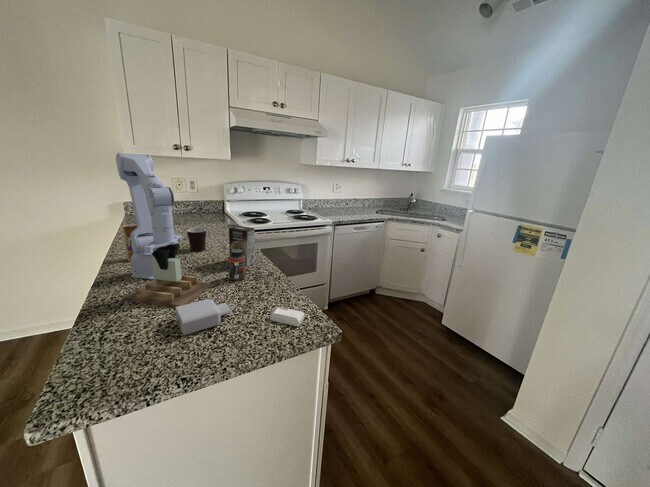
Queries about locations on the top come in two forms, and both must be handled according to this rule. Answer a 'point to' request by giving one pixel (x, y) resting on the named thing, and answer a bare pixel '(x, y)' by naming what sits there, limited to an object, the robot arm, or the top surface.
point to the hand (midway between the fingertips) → (167, 267)
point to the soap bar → (287, 316)
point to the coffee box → (242, 242)
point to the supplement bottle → (237, 265)
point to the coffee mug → (197, 239)
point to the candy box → (129, 238)
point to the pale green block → (171, 273)
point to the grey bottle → (200, 315)
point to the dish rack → (168, 292)
